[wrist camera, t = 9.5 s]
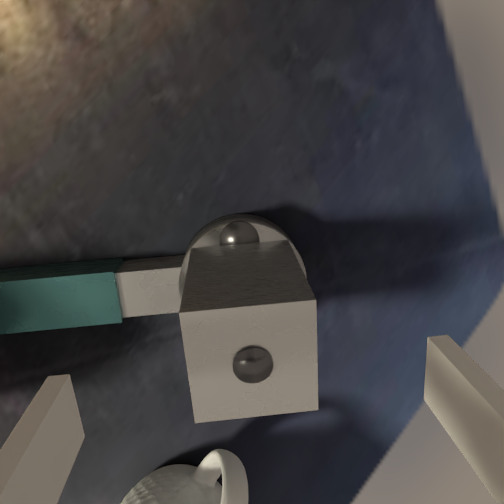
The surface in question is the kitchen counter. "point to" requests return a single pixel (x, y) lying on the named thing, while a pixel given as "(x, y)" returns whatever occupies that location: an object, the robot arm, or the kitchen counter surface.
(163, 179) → the kitchen counter surface
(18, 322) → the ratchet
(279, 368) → the cube with chrome domes
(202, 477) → the mug
